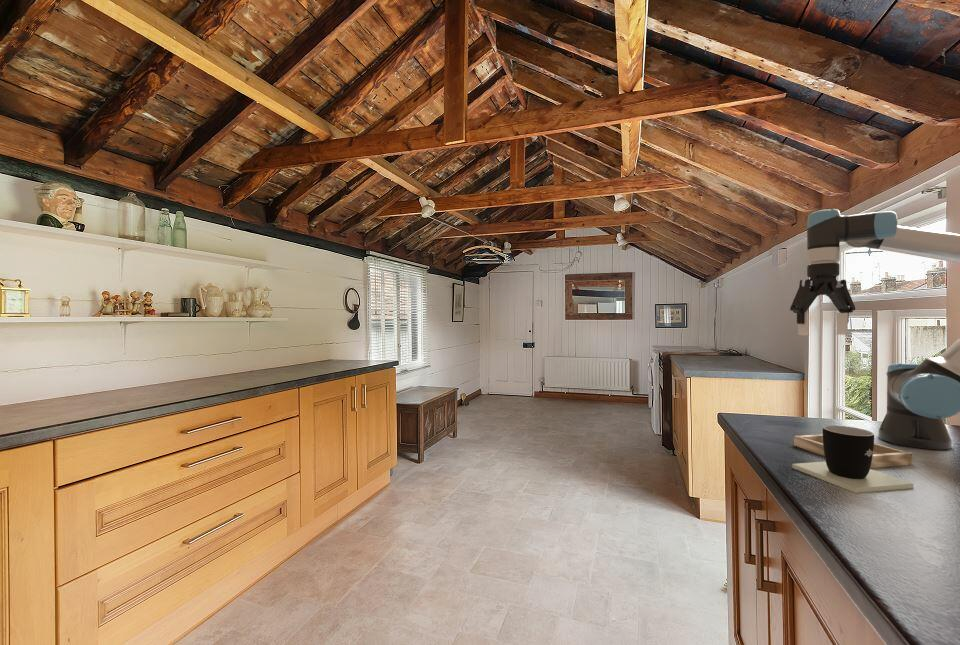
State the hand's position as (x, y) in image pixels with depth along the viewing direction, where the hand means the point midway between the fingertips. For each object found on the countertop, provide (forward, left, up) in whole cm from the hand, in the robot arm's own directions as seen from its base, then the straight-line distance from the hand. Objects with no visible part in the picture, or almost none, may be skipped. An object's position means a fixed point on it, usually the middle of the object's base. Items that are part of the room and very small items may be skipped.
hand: (822, 335), depth 127 cm
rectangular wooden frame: (+5, +12, -32) cm, 34 cm away
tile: (+21, +26, -32) cm, 46 cm away
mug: (+21, +25, -31) cm, 45 cm away
